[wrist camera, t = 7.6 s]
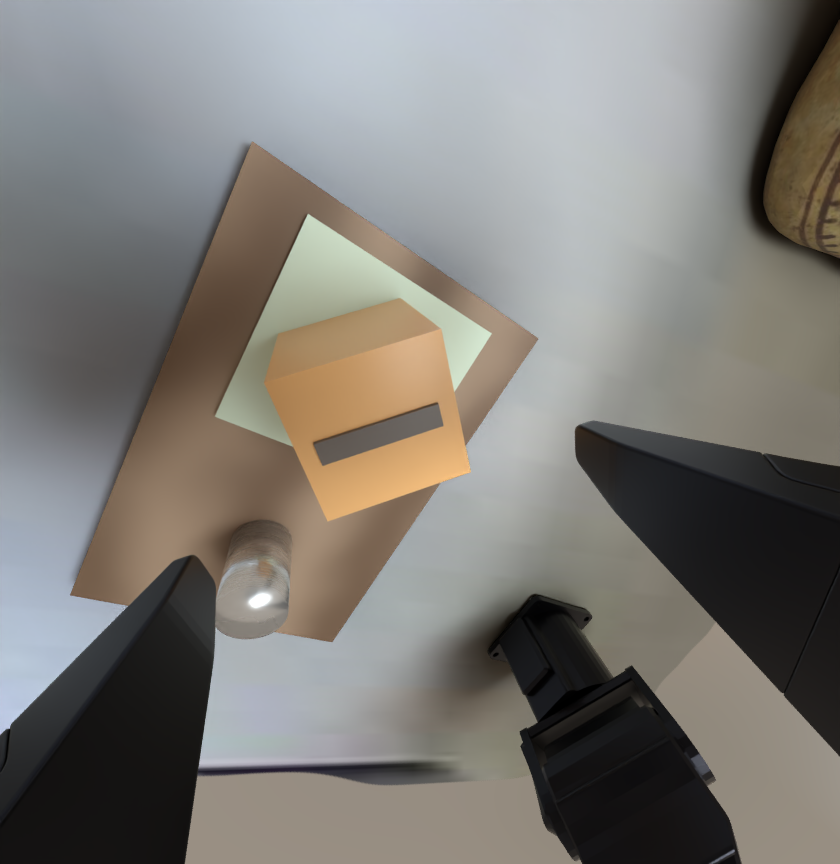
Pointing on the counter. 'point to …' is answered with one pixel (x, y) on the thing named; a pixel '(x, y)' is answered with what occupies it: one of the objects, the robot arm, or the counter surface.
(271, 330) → the pad
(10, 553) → the counter surface
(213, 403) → the board
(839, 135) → the ceramic vessel
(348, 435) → the box
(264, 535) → the clear cylinder
